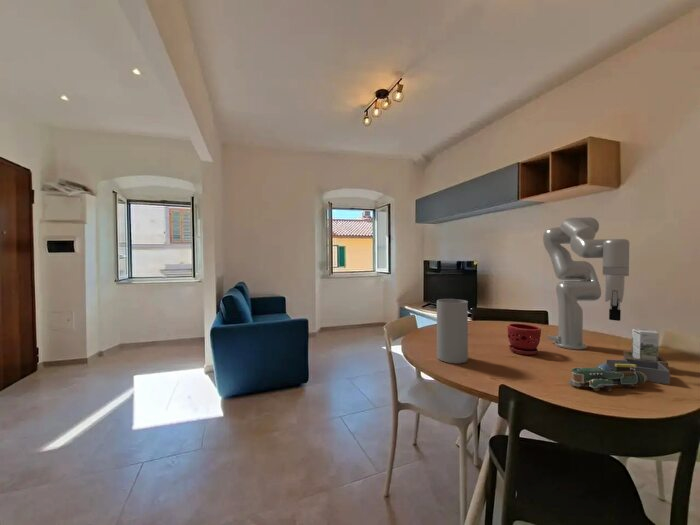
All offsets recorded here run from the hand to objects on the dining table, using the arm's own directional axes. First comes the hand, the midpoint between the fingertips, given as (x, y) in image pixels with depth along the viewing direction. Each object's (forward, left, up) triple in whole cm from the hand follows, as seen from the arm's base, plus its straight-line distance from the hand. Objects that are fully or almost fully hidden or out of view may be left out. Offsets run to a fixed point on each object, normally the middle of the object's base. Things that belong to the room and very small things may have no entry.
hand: (614, 319), depth 115 cm
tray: (+8, -2, -19) cm, 21 cm away
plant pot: (-30, +9, -20) cm, 37 cm away
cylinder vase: (-56, -17, -20) cm, 62 cm away
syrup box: (+11, +11, -20) cm, 25 cm away
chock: (0, -9, -19) cm, 22 cm away
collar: (+11, +11, -19) cm, 25 cm away
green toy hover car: (-5, -19, -20) cm, 28 cm away
